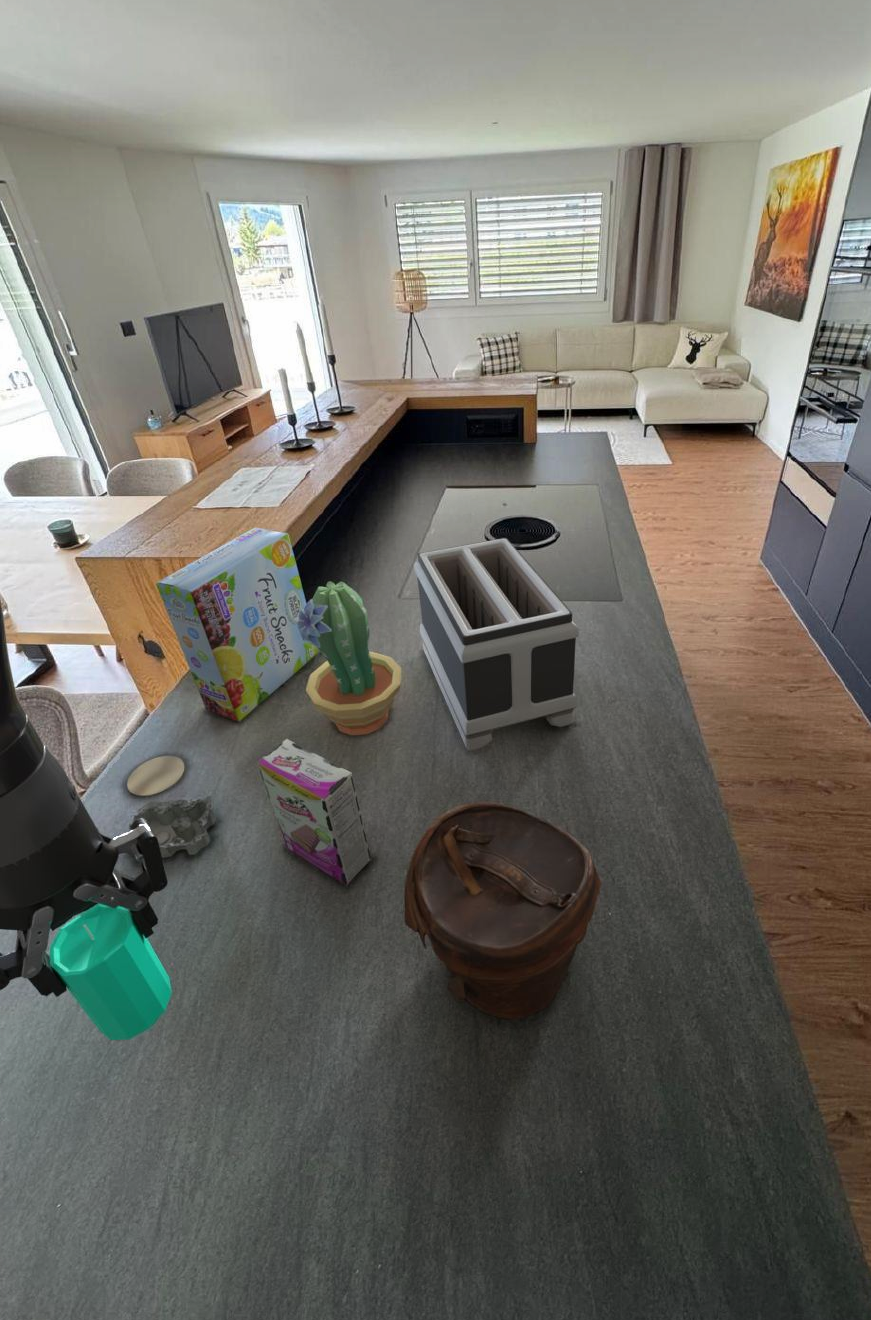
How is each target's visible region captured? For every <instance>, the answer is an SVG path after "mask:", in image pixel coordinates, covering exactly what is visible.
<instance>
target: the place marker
mask: <svg viewBox="0 0 871 1320" xmlns="http://www.w3.org/2000/svg"><path fill="white" fill-rule="evenodd" d="M184 772H185V763H184V761H183V760H182V759H181V758H179V757H178V756H174V755H163V756H158V757H154V758H151V759H149V760H147V761H145V762H143V763H142V764H140V765H139V766H137V768H135V769H134V770H133V771H132V773H131V774H130V775H129V777H128V779H127V782H126V786H127V790H128V791H129V793H131V795H134V796H138V797H149V796H150V797H151V796H154V795H159V794H160V793H163V792H165V791H167V790H168V789H170V788H172V787H173V786H174V785H175V784H177V782H178V781H180V780H181V778H182V776H183V775H184Z"/></svg>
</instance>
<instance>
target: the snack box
mask: <svg viewBox="0 0 871 1320" xmlns="http://www.w3.org/2000/svg"><path fill="white" fill-rule="evenodd" d="M299 573H300V572H299V570H298V566H297V561H296V557H295V554H294V551H293V547H292V543H291V538H290V534H289V532H280V531H276V530H275V531H274V530H270V529H267V528H261V527H253V528H251V529H250V530H248V531H246V532H244V533H243V534H241V535H239V536H238V537H235V538H233V539H232V540H229V541H227V542H226V543H225V544H223V545H221V546H219V547H217V548H216V549H214V550H212V551H210V552H209V553H207V554H205V555H204V556H202V557H200V558H198V559H196V560H194V561H192V562H191V563H188V564H187V565H186V566H184V567H182V568H180V569H178V570H177V571H175V572H173V573H171V574H169V575H168V576H166V577H164V578H163V579H160V580H159V581H157V582H156V583H155V586H156V588H157V591H158V594H159V597H160V598H161V601H162V603H163V605H164V608H165V611H166V614H167V616H168V618H169V620H170V621H169V622H170V624H171V625H172V628H173V630H174V633H175V636H176V638H177V641H178V643H179V646H180V648H181V650H182V653H183V656H184V658H185V660H186V663H187V666H188V668H189V671H190V672H191V676H192V678H193V681H194V683H195V686H196V689H197V691H198V693H199V696H200V698H201V701H202V703H203V706H204V708H205V710H206V711H208V712H211V713H214V714H216V715H218V716H219V715H220V716H223V717H225V718H228V719H231V720H234V721H236V722H239V723H240V722H241V721H242V720H244V718H245V717H246V716H247V715H248V714H250V713H251V712H252V711H253V710H254V709H256V708H257V707H258V706H259V705H260V704H261V703H262V702H263V701H264V700H266V699H267V698H268V697H269V696H270V695H271V694H273V693H274V692H275V691H276V690H277V689H279V688H280V687H281V686H282V685H283V684H284V683H285V682H287V681H288V680H289V679H290V678H292V676H293V675H295V674H296V673H297V672H299V670H301V669H302V668H303V667H304V666H305V665H307V663H309V662H310V661H311V660H312V659H313V658H314V657H316V655H318V654H319V653H320V650H319V649H318V648H317V647H316V646H315V645H314V644H312V643H311V642H310V641H308V642H307V641H306V640H305V641H303V639H302V636H301V634H300V630H299V629H298V623H297V621H299V618H298V616H299V613H300V611H301V609H304V607H305V606H306V604H307V601H306V597H305V593H304V590H303V585H302V581H301V577H300V574H299Z"/></svg>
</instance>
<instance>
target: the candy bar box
mask: <svg viewBox="0 0 871 1320" xmlns="http://www.w3.org/2000/svg"><path fill="white" fill-rule="evenodd" d="M257 766H258V769H259V772H260V776H261V778H262V781H263V784H264V787H265V789H266V792H267V795H268V798H269V801H270V803H271V806H272V809H273V811H274V816H275V819H276V821H277V823H278V827H279V830H280V833H281V835H282V838H283V841H284V843H285V847H286V849H287V850H289V851H290V852H291V853H294V854H295V855H297V856H298V857H300V858H301V859H303V860H305V861H307V863H310V864H311V865H312V866H314V867H315V868H318V869H319V870H321V871H322V872H324V873H325V874H327V875H329V876H330V877H331V878H333V879H335V880H337V881H338V882H339V883H341V884H343V885H344V886H348V885H350V883H351V882H352V881H353V880H354V879H355V878H356V876H358V874H359V873H360V872H361V871H362V870H363V869H364V868H365V867H366V866H367V864H368V863H369V862H370V861H371V860H372V858H371V857H372V856H371V854H370V849H369V844H368V840H367V836H366V831H365V827H364V822H363V819H362V812H361V810H360V809H361V808H360V806H359V805H360V804H359V801H358V796H357V791H356V787H355V783H354V779H353V773H352V772H351V771H349V770H347V769H346V768H343V767H342V766H339V765H337V764H335V763H334V762H332V761H330V760H328V759H326V758H324V757H323V756H321V755H319V754H317V753H315V752H313V751H311V750H309V749H308V748H306V747H303V746H301V745H299V744H298V743H296V742H294V741H292V740H290V739H288V738H286V739H284V740H283V741H282V742H281V743H280V744H278V745H277V746H276V747H275V748H273V749H272V750H271V751H269V752H268V754H265V755H264V756H262V758H260V760H258V761H257Z"/></svg>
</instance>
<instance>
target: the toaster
mask: <svg viewBox="0 0 871 1320" xmlns="http://www.w3.org/2000/svg"><path fill="white" fill-rule="evenodd" d="M413 566H414V572H415V574H416V577H417V579H416V580H417V587H418V588H417V589H418V595H419V597H418V598H419V605H420V613H421V622H420V623H419V624H420V625H419V632H420V636H421V640H422V648H423V652H424V654H425V657H426V659H427V661H428V664H429V666H430V668H431V670H432V672H433V675H434V678H435V680H436V682H437V684H438V687H439V689H440V691H441V694H442V697H443V698H444V700H445V703H446V705H447V707H448V709H449V712H450V714H451V716H452V719H453V721H454V723H455V725H456V728H457V730H458V733H459V735H460V736H461V737H460V738H461V740H462V741H463V744H464V746H465V749H466V750H468V751H474V750H479V749H483V748H485V746H486V745H488V744H489V743H490V742H492V740H493V734H492V732H493V731H494V730H495V731H496V730H498V729H502V728H506V727H510V726H513V725H518V724H522V723H525V722H529V721H533V720H537V719H540V718H545V719H546V720H547V722H548V723H549V725H550V726H554V727H555V726H556V727H558V728H561V727H566V726H569V725H571V724H573V723H574V714H575V713H574V712H575V709H576V708H577V707H578V701H577V697H576V695H575V693H574V685H575V681H574V680H575V659H576V643H577V642H576V641H577V638H578V637H579V627H578V626H577V625H576V623H575V622H574V621H573V612H572V611H571V610H570V608H568V606H567V605H566V604H565V602H563V601H562V600H561V598H560V597H559V596H558V595H557V594H556V593H555V591H554V590H553V589H552V588H551V587H550V586H549V584H548V583H547V582H546V581H545V580H544V579H543V578H542V577H541V575H539V573H538V572H537V571H536V569H534V568H533V567H532V565H531V564H530V563H529V562H528V560H527V559H526V558H525V557H524V556H523V555H522V554H521V553H520V551H519V550H518V549H517V548H516V546H514V545H513V543H512V542H511V541H510V539H508V538H507V537H501V538H497V539H495V538H494V539H490V540H484V541H479V542H474V543H473V542H472V543H468V544H462V545H456V546H452V547H445V548H439V549H435V550H434V549H433V550H427V551H423V552H418V553H417V561H415V562H414V564H413Z"/></svg>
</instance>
